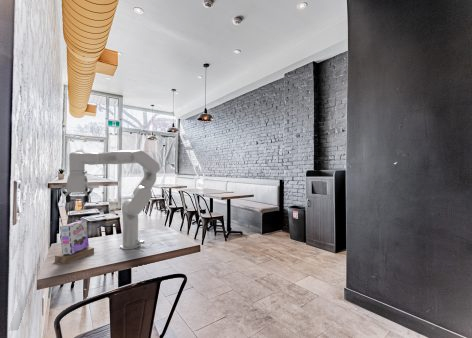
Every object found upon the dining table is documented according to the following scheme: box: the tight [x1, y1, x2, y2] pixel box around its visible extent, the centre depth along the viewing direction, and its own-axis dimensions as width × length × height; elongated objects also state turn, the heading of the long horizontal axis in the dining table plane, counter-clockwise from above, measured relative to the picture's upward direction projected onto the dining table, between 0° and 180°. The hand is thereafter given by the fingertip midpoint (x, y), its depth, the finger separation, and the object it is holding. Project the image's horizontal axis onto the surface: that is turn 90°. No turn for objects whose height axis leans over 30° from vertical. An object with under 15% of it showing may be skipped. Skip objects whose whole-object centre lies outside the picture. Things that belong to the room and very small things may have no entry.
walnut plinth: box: [54, 246, 95, 265], centre depth 140 cm, size 9×17×4 cm, turn 159°
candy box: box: [59, 220, 90, 255], centre depth 140 cm, size 14×6×16 cm, turn 174°
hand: (77, 202), depth 140 cm, fingers open, 9 cm apart
